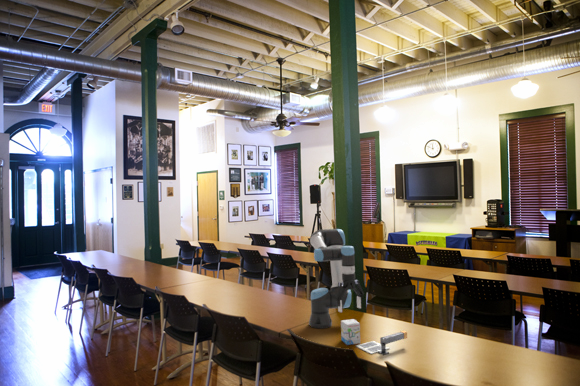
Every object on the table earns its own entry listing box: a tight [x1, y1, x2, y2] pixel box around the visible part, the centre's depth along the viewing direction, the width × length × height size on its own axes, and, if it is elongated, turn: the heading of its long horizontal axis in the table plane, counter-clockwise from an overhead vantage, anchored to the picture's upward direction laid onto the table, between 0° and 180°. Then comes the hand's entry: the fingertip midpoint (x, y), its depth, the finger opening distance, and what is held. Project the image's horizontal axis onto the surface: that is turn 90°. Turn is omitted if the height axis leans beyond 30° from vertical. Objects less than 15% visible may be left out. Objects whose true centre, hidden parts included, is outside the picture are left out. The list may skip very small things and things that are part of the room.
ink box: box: [340, 318, 361, 346], centre depth 224 cm, size 9×8×12 cm
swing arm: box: [379, 330, 408, 345], centre depth 210 cm, size 18×3×3 cm, turn 122°
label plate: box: [355, 340, 391, 355], centre depth 213 cm, size 13×13×1 cm
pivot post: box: [377, 344, 390, 356], centre depth 205 cm, size 4×4×5 cm
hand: (349, 309), depth 224 cm, fingers open, 13 cm apart
